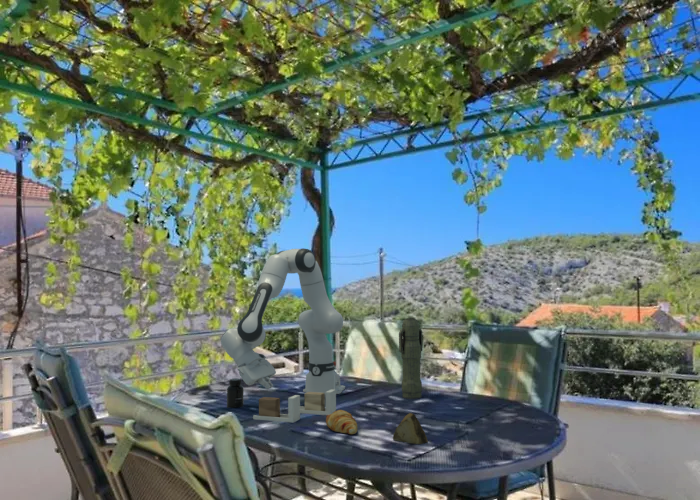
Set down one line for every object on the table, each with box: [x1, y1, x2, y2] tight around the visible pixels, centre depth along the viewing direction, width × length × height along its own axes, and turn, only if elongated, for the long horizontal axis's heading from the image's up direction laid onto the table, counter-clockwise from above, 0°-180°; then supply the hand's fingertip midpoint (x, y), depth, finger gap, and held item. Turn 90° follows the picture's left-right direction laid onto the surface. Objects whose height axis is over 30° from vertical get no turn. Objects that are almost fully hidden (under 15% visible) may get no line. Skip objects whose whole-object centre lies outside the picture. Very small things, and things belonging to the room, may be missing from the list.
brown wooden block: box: [258, 396, 281, 417], centre depth 220 cm, size 4×7×8 cm, turn 69°
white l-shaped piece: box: [300, 389, 337, 416], centre depth 229 cm, size 6×17×10 cm, turn 69°
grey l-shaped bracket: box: [252, 394, 301, 423], centre depth 219 cm, size 6×17×10 cm, turn 69°
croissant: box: [325, 409, 358, 435], centre depth 207 cm, size 21×10×8 cm, turn 29°
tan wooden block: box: [304, 392, 326, 411], centre depth 229 cm, size 4×7×8 cm, turn 69°
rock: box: [392, 412, 429, 445], centre depth 191 cm, size 11×9×10 cm
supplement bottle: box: [226, 378, 244, 409], centre depth 243 cm, size 7×7×12 cm
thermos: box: [398, 318, 424, 400], centre depth 260 cm, size 9×12×35 cm
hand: (270, 387), depth 235 cm, fingers closed
